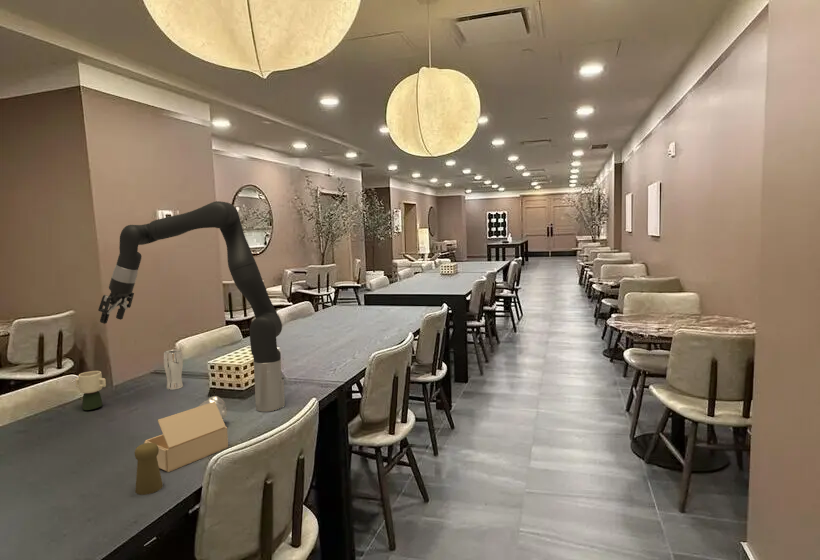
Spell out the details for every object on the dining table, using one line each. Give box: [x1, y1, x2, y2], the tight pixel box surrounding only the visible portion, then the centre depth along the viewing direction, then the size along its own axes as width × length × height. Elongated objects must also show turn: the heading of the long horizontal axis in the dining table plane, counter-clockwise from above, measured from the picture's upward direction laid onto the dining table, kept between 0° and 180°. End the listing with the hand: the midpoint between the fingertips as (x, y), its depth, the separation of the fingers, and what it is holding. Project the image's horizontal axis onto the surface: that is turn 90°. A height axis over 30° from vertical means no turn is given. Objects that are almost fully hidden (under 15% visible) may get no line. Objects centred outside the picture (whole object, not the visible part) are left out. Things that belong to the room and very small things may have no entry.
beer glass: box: [163, 349, 184, 391], centre depth 205 cm, size 7×7×15 cm
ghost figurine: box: [198, 395, 228, 420], centre depth 162 cm, size 9×10×10 cm
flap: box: [157, 402, 227, 448], centre depth 139 cm, size 17×1×8 cm
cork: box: [134, 443, 164, 496], centre depth 123 cm, size 6×6×11 cm
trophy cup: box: [75, 370, 107, 411], centre depth 181 cm, size 11×7×13 cm, turn 88°
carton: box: [143, 426, 229, 473], centre depth 142 cm, size 19×12×6 cm, turn 146°
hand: (111, 320), depth 181 cm, fingers open, 8 cm apart
